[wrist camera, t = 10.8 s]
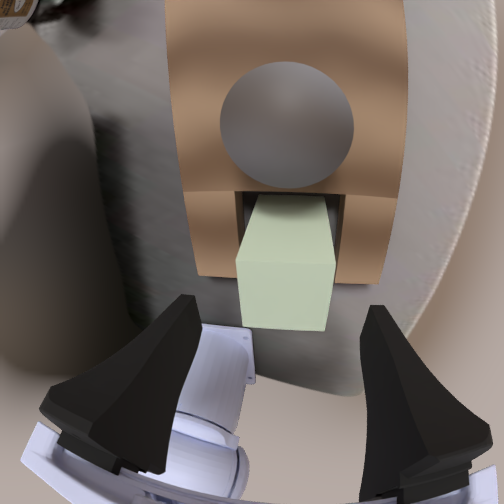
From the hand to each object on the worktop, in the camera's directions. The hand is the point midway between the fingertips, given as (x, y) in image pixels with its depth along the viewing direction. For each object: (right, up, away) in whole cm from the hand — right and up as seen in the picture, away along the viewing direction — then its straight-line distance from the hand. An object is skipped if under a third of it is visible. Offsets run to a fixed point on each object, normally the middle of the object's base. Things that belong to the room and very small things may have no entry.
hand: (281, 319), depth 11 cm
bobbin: (+1, +9, +1) cm, 9 cm away
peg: (+1, +5, +7) cm, 8 cm away
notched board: (+1, +10, +3) cm, 11 cm away
